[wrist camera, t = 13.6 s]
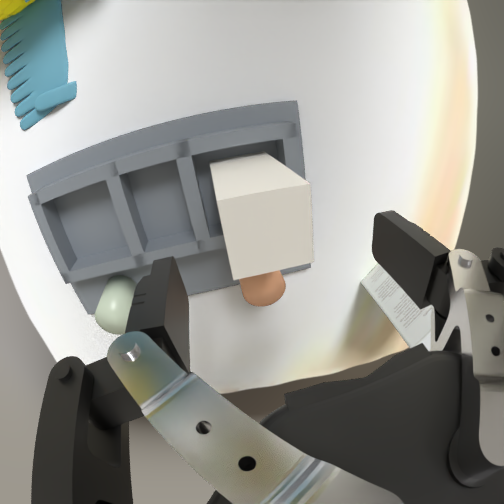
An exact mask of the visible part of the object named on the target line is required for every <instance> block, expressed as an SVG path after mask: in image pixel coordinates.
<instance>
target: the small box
mask: <svg viewBox="0 0 504 504" xmlns="http://www.w3.org/2000/svg"><path fill="white" fill-rule="evenodd" d="M361 284H362V285H363V286H364V288H365V289H366V290H367V291H368V293H369V294H370V295H371V296H372V298H373V299H374V300H375V302H376V303H377V304H378V305H379V307H380V308H381V309H382V311H383V312H384V313H385V315H386V316H387V317H388V319H389V320H390V321H391V323H392V324H393V326H394V327H395V328H396V330H397V331H398V332H399V334H400V335H401V337H402V338H403V339H404V341H405V342H406V343H407V345H408V346H409V348H412V347H414V346H417V345H419V344H421V343H423V344H424V345H425V347H426V348H427V350H428V351H430V348H431V311H432V308H433V306H432V305H430V306H427V307H425V308H423V309H421V310H420V309H419V308H418V306H417V305H416V304H415V303H414V302H413V301H412V299H411V298H410V297H409V296H408V295H407V294H406V293H405V292H404V290H403V289H402V288H401V287H400V286H399V285H398V284H397V283H396V282H395V281H394V279H393V278H392V277H391V276H390V275H389V274H388V273H387V272H386V271H385V270H384V269H383V268H382V267H381V266H380V264H379V263H378V264H377V265H376V266H375V267H374V269H373V270H372V271H371V272H370V273H369V274H368V275H367V276H366V277H365V278H364V279H363V280H362V282H361Z"/></svg>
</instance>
